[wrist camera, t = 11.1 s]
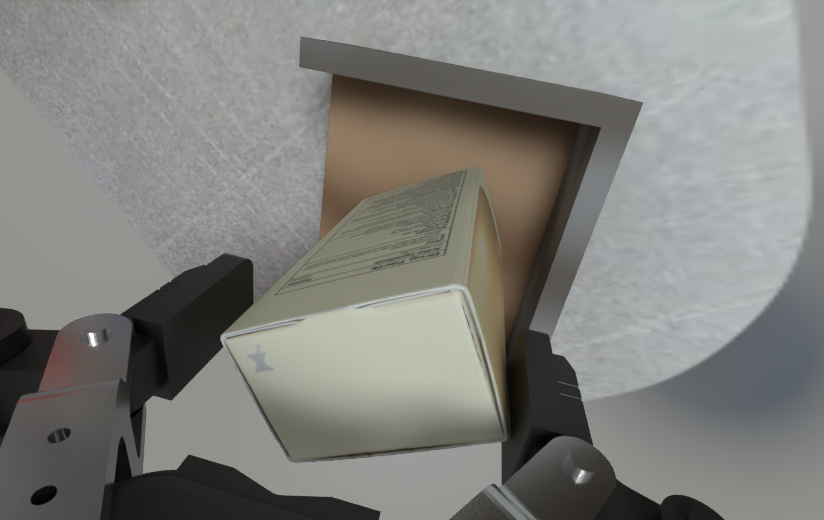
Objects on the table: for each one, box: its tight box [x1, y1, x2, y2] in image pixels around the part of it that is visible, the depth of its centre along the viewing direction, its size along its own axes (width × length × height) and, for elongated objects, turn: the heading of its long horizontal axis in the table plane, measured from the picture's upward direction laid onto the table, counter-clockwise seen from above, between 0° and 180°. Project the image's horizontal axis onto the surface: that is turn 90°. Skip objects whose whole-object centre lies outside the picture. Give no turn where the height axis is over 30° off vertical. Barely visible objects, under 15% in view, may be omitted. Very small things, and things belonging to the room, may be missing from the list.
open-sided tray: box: [299, 37, 643, 366], centre depth 20 cm, size 14×12×6 cm
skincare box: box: [220, 166, 509, 463], centre depth 15 cm, size 6×4×12 cm
